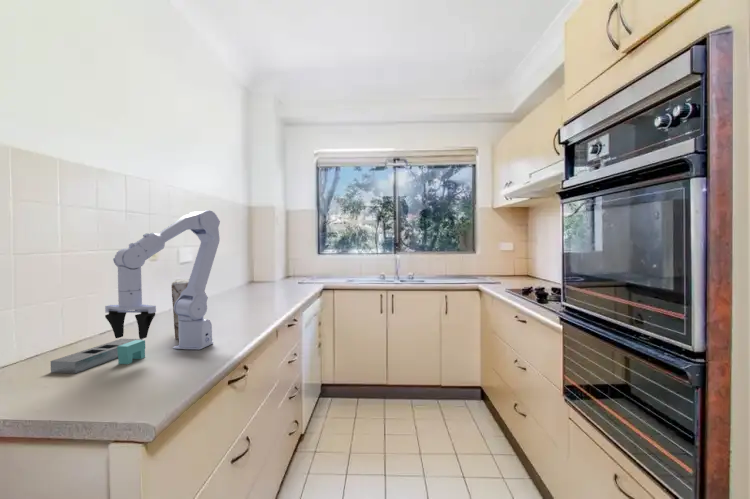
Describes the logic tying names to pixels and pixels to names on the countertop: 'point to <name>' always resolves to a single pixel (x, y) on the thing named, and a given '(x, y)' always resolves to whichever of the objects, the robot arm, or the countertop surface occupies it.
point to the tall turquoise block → (131, 351)
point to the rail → (88, 357)
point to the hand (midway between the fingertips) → (131, 337)
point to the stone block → (176, 291)
